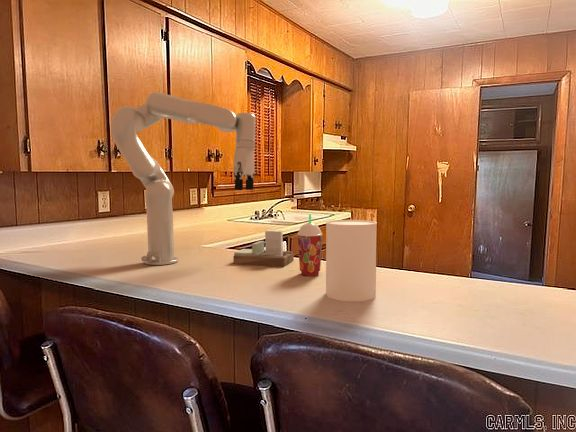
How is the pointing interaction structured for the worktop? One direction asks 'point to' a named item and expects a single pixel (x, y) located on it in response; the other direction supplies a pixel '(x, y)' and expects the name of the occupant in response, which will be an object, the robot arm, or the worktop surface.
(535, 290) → the worktop surface
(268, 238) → the skincare box
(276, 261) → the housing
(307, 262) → the smoothie
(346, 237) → the canister
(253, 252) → the cover
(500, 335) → the worktop surface
